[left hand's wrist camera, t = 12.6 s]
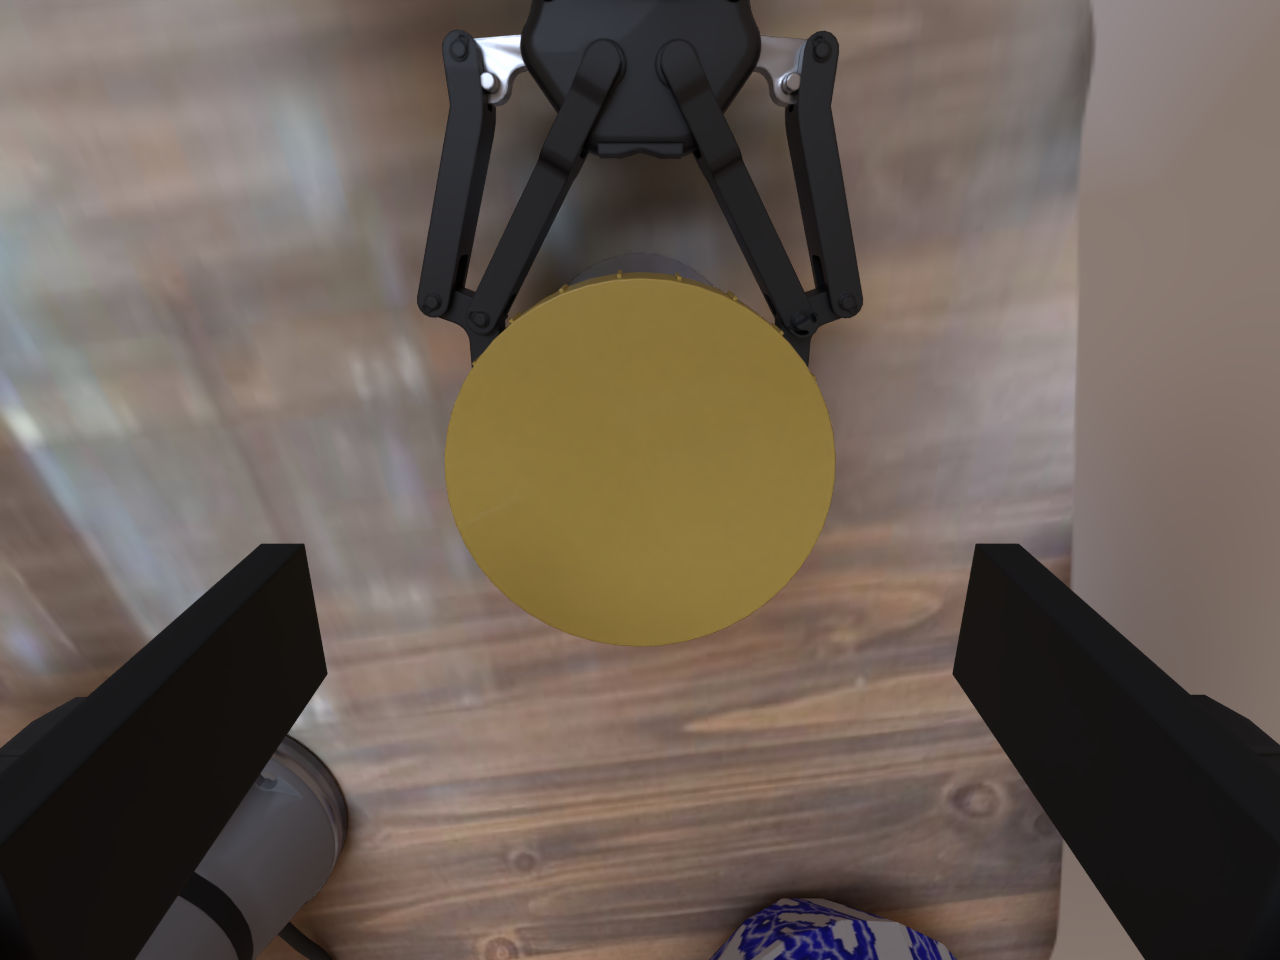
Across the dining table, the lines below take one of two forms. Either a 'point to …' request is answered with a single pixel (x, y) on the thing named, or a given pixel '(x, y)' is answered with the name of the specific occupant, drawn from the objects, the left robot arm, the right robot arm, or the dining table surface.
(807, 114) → the right robot arm
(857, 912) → the ornament
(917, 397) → the dining table surface
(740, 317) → the lid
